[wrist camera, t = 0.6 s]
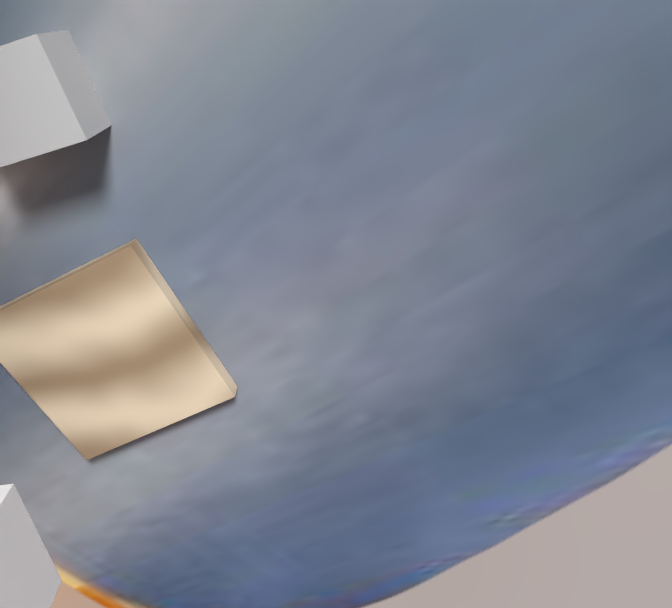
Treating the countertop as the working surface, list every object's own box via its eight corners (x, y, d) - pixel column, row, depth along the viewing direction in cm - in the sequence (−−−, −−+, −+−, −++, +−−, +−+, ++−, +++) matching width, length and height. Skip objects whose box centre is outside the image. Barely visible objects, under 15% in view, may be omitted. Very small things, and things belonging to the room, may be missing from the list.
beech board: (-22, 317, 38) (-32, 326, 37) (136, 238, 36) (130, 245, 35) (92, 448, 43) (86, 460, 42) (237, 386, 41) (235, 396, 40)
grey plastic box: (-18, 58, 32) (-61, 66, 28) (69, 29, 31) (36, 33, 27) (30, 150, 34) (-5, 168, 30) (112, 124, 33) (86, 140, 30)
